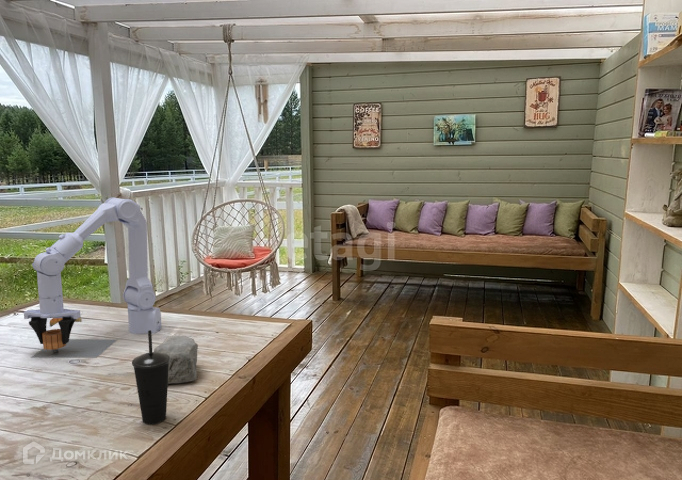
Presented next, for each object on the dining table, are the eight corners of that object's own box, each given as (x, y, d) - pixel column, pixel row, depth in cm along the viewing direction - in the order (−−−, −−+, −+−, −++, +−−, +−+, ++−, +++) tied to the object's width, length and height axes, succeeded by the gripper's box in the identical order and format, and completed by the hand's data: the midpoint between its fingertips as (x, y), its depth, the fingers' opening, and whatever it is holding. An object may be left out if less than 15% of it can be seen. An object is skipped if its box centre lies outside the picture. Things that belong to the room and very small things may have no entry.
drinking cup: (141, 410, 114) (136, 325, 111) (176, 409, 114) (172, 324, 111) (130, 428, 106) (124, 337, 103) (167, 427, 107) (163, 336, 104)
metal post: (59, 351, 143) (58, 336, 143) (56, 353, 142) (55, 338, 141) (54, 351, 143) (53, 336, 143) (51, 353, 142) (50, 338, 141)
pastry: (52, 329, 167) (51, 318, 166) (47, 324, 172) (46, 313, 171) (83, 323, 173) (82, 312, 172) (77, 318, 178) (76, 308, 177)
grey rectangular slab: (117, 344, 154) (117, 339, 153) (96, 362, 140) (96, 357, 140) (57, 343, 153) (57, 339, 153) (30, 362, 139) (30, 357, 139)
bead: (70, 342, 145) (69, 328, 145) (59, 349, 140) (58, 335, 139) (50, 342, 145) (49, 328, 144) (39, 349, 140) (37, 335, 139)
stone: (152, 369, 136) (150, 333, 134) (196, 364, 140) (195, 329, 138) (152, 390, 124) (150, 351, 122) (201, 383, 128) (199, 345, 126)
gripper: (15, 299, 136) (19, 348, 138) (70, 300, 136) (73, 348, 138) (30, 292, 143) (34, 338, 145) (82, 293, 143) (86, 339, 145)
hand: (54, 342), depth 142 cm, fingers closed on bead, 6 cm apart
